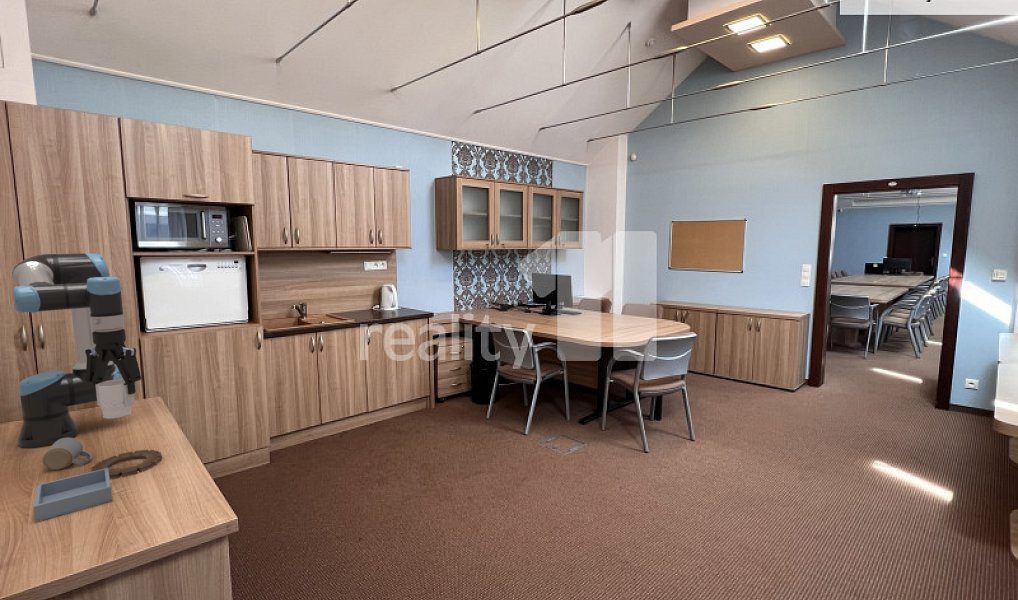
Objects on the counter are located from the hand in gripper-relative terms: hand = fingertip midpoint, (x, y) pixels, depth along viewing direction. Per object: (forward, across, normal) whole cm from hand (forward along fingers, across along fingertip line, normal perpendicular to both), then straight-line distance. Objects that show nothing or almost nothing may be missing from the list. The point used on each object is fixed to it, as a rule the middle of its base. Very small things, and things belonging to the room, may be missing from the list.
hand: (116, 404), depth 144 cm
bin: (+20, +2, -18) cm, 27 cm away
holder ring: (+20, 0, +2) cm, 21 cm away
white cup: (+3, 0, 0) cm, 3 cm away
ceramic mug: (+21, -20, +2) cm, 29 cm away
